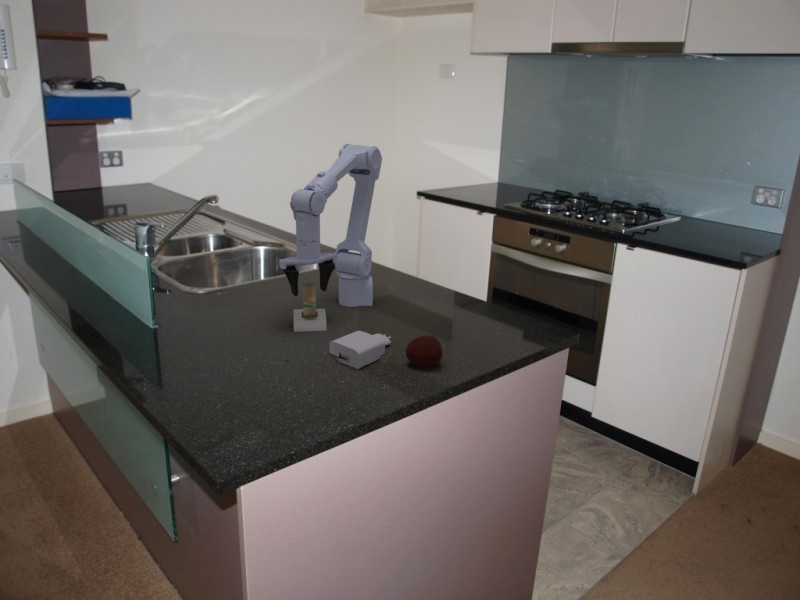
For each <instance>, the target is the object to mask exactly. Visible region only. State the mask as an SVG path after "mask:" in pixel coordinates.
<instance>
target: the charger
mask: <svg viewBox="0 0 800 600" xmlns="http://www.w3.org/2000/svg"><path fill="white" fill-rule="evenodd" d="M390 339H392V336H387V335H386V334H385V333H384V334H382V333H374V334H371V333H368V332H366V331H362V330H357V331H353V332H351V333H349V334H347V335H343V336H342V337H339V338H336V339H334V340H331V341H329V354H331V355H332V356H335V357H331V358H332V360H334V361H336V360H337V361H336V362H338V361H339V363H341V362H342V363H341V364H343V363H344V365H345V364H347V365H346V366H348V365H349V366H348V367H350V366H351V367H350V368H352V367H354V368H353V369H355V368H356V369H355V370H359V369H361V368H363V367H365V365H366V366H367V365H370V364H372V363H374V362H376V361H379V360H380V359H384V358H385V357H386V355H385V354H386V346H388V345H390V344H392V343H391V342H392V341H391V340H390ZM378 359H379V360H378Z"/></svg>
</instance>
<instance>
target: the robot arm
mask: <svg viewBox="0 0 800 600" xmlns="http://www.w3.org/2000/svg"><path fill="white" fill-rule="evenodd" d="M382 162H383V157H382V154H381V151H380V149H379V147H378V146H375V145H373V146H369V145H358V144H357V145H356V144H350V143H344V145H342V147H341V148H340V149H339V150H338V157H337V159H336V160H335V161H334V162H333V164H332V165H331V166H330V167H329V169H328V170H327V171H325V170H324V171H323V170H322V171H319V172H317V174H316V175H315V176H314V178H313V179H312V180H310V182H309V183H308V184H307V185H306V186H305V187H304V188H298V189H297V190H296V191H294V192H293V193H292V195H291V198H290V201H289V207H290V209H291V211H292V213H293V215H292V216H293V220H295V232H296V233H295V235H296V236H295V239H296V241H295V242H296V243H295V244H296V255H293V256H290V257H286V258H281V259H278V260H279V261H278V263H279V266H278V267H279V268H280V269H282V271H283V273H284V275H285V276H286V279H287V280H288V281H287V282H288V284H289V286H290V290H291V295H293V296H294V297H297V296H299V275H300V271H299V270H298V269H297V267H303V266H309V265H316V264H317V267H318V273H319V289H320V290H321V291H323V292H327V289H328V284H329V281H330V278H331V276H332V274H333V272H335V273H336V276H338V304H339V305H341V306H343V307H348V308H355V307H361V306H362V307H365V306H366V307H369V306H370V307H371V306H373V300H374V296H373V292H374V286H373V285H374V283H373V276H372V275H370V273H371V271H372V268H373V267H372V266H373V260H372V259H373V258H372V255H373V251H372V250H371V248H370V247H369V246H368V245H367V243H366V242H365V241H366V236H367V230H368V225H369V219H370V212H371V208H372V201H373V196H374V190H375V186H376V181H377V180H379V178H380V174H381V168H382ZM347 174H348V175H349V176H350V177H351V178H353V180H354V181H355V186H354V191H353V195H352V196H353V197H352V202H351V207H350V213H349V219H348V224H347V229H346V230H347V231H346V236H345V239H344V240H343V241H341V242H339V243H338V244H337V245H336V249H335V252H321V214H322V213H323V212H324V210H325V206H326V203H327V202H328V199H329V198H330V197H331V196H332V195H333V193H335V191H337V189H338V184H339V183H338V182H339V181H340V180H341V179H342V178H344V177H345V176H346V175H347ZM351 251H352V252H351ZM353 251H354V252H353Z"/></svg>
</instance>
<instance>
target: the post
mask: <svg viewBox="0 0 800 600" xmlns="http://www.w3.org/2000/svg"><path fill="white" fill-rule="evenodd" d="M316 295H317V294H316V282H315V283H314V282H313V283H312V282H311V283H302V309H304V315H316V309H317V300H316V298H317V297H316Z"/></svg>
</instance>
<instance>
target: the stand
mask: <svg viewBox="0 0 800 600" xmlns="http://www.w3.org/2000/svg"><path fill="white" fill-rule="evenodd" d="M326 315H327V314H326V308H316V315H304V309H303V308H302V309H301V308H299V309H295V308H294V309H293V332H298V333H299V332H325V331H326V332H327V316H326Z"/></svg>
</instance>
